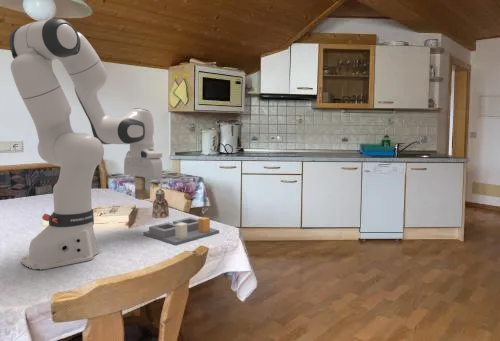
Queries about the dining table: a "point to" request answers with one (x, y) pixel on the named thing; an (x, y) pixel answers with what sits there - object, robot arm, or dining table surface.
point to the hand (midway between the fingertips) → (142, 188)
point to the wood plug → (141, 189)
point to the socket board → (189, 234)
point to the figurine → (160, 205)
